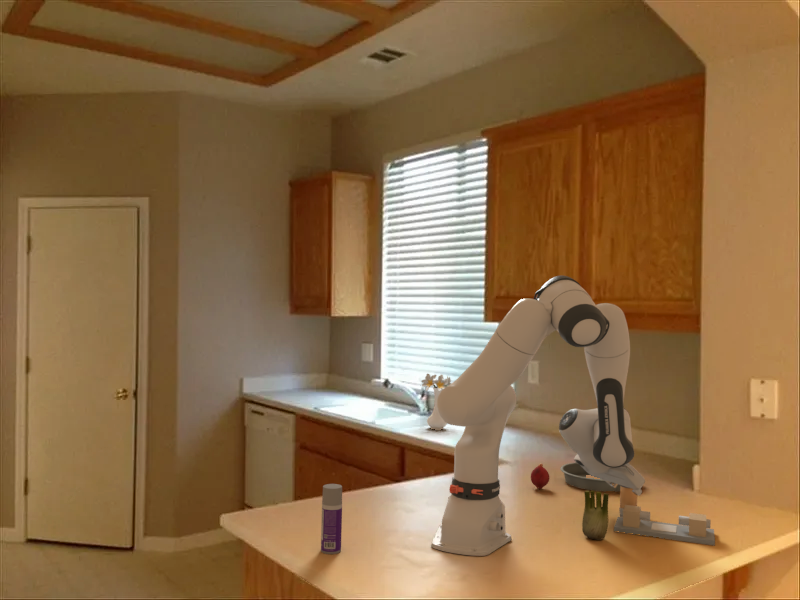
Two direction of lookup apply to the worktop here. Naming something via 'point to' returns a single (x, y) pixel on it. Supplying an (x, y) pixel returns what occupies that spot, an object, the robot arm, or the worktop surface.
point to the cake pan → (584, 479)
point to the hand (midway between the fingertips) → (626, 489)
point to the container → (331, 519)
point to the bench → (665, 526)
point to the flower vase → (435, 418)
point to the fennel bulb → (595, 516)
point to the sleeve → (627, 497)
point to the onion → (540, 476)
